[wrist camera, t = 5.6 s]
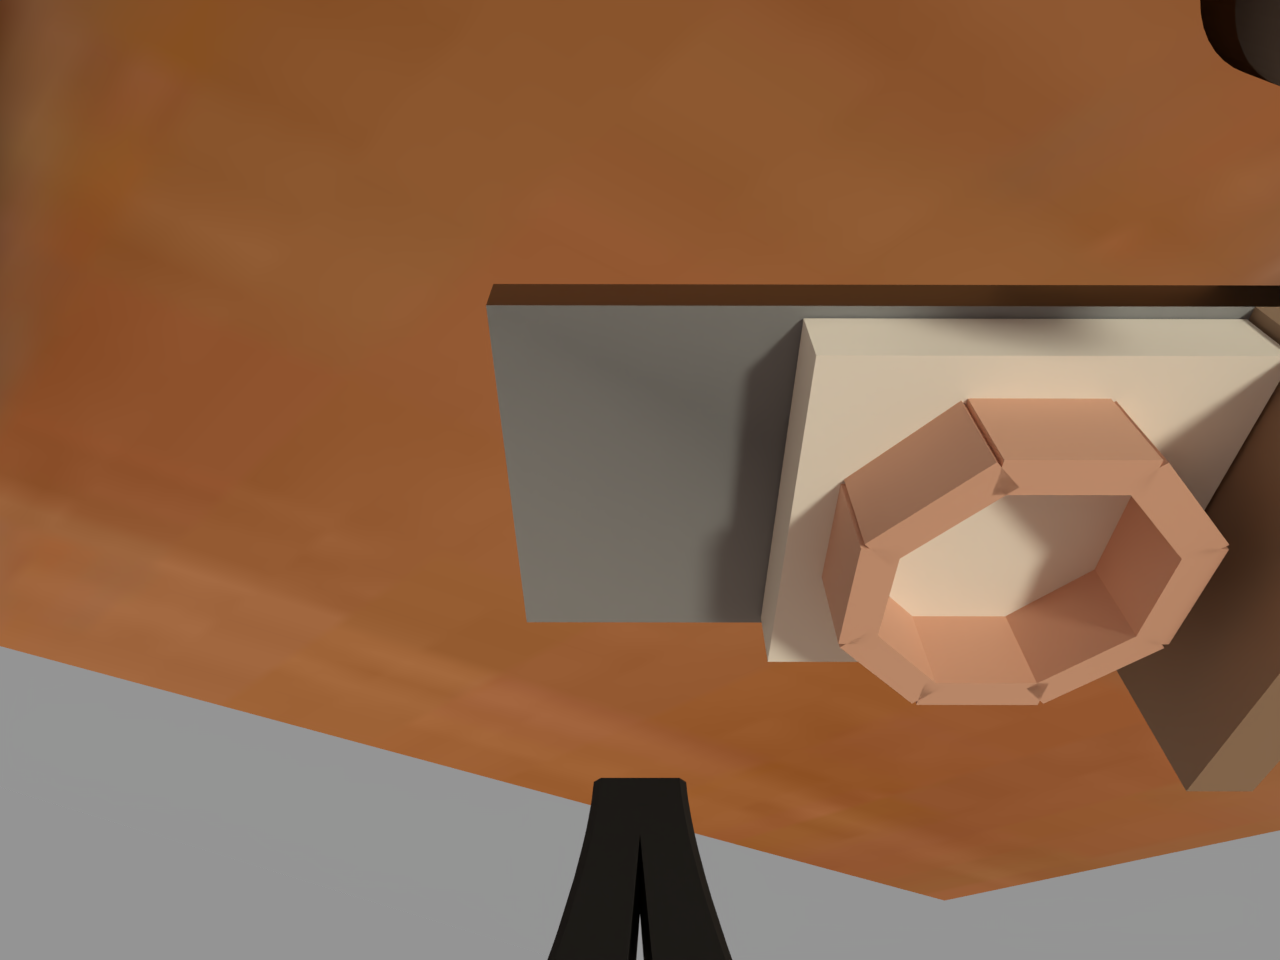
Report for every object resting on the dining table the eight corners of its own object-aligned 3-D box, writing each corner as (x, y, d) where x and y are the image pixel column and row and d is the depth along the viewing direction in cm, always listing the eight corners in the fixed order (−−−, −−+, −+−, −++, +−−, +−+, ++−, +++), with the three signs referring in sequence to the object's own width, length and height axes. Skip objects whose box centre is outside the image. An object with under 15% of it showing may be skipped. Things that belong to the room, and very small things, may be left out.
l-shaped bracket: (493, 283, 17) (436, 453, 12) (1297, 285, 17) (1551, 455, 12) (530, 595, 23) (502, 790, 18) (1126, 596, 23) (1252, 791, 18)
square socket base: (803, 318, 16) (836, 414, 13) (1246, 319, 16) (1370, 415, 13) (760, 618, 22) (778, 728, 19) (1090, 618, 22) (1154, 729, 19)
